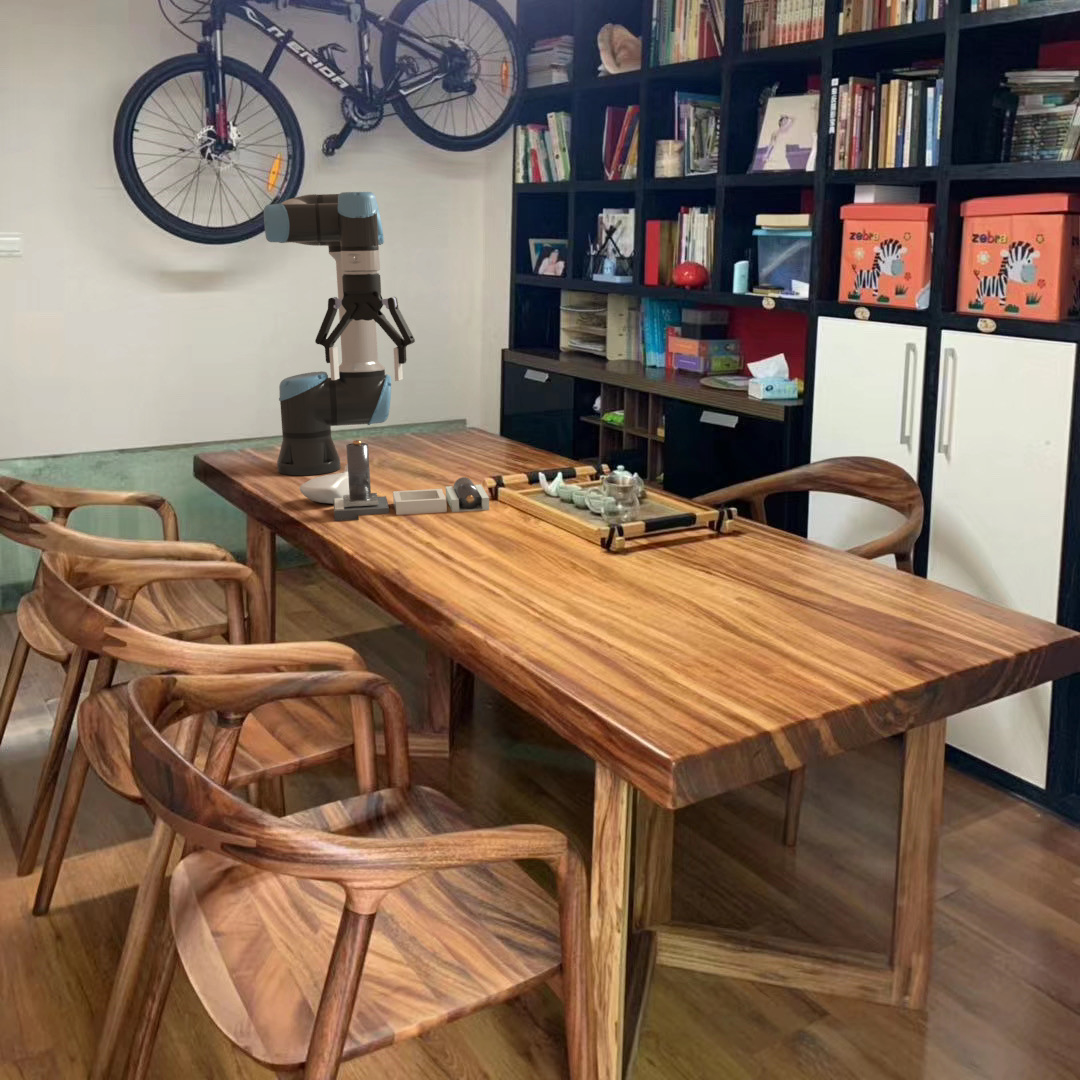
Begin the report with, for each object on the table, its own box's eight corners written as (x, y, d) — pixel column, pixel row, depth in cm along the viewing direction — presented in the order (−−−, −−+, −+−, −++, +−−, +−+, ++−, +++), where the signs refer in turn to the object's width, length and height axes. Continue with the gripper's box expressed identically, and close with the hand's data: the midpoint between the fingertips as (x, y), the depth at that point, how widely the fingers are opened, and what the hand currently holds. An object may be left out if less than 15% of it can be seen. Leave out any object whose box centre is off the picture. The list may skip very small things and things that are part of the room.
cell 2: (453, 498, 256) (453, 477, 255) (474, 496, 257) (473, 476, 256) (460, 510, 245) (459, 489, 244) (481, 509, 246) (480, 488, 245)
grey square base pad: (334, 508, 253) (333, 497, 253) (386, 505, 255) (385, 494, 255) (334, 520, 243) (333, 509, 242) (389, 517, 245) (388, 506, 244)
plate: (343, 499, 251) (342, 494, 251) (376, 497, 252) (376, 492, 252) (343, 506, 245) (343, 502, 244) (378, 504, 246) (378, 500, 245)
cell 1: (349, 495, 250) (345, 439, 247) (370, 494, 251) (367, 438, 248) (349, 500, 246) (346, 443, 243) (371, 499, 246) (368, 442, 243)
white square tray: (393, 507, 253) (393, 491, 252) (442, 504, 255) (441, 488, 254) (396, 518, 243) (395, 502, 243) (446, 515, 245) (446, 499, 244)
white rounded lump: (367, 461, 261) (322, 447, 253) (364, 508, 259) (318, 495, 251) (338, 470, 269) (293, 457, 260) (334, 516, 266) (289, 504, 258)
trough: (446, 502, 257) (445, 486, 256) (481, 499, 259) (480, 484, 258) (452, 516, 245) (451, 499, 244) (489, 513, 246) (489, 497, 245)
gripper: (294, 274, 237) (302, 381, 243) (415, 273, 232) (420, 382, 238) (309, 272, 244) (316, 376, 250) (426, 271, 239) (431, 377, 245)
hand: (367, 379), depth 244 cm, fingers open, 13 cm apart
